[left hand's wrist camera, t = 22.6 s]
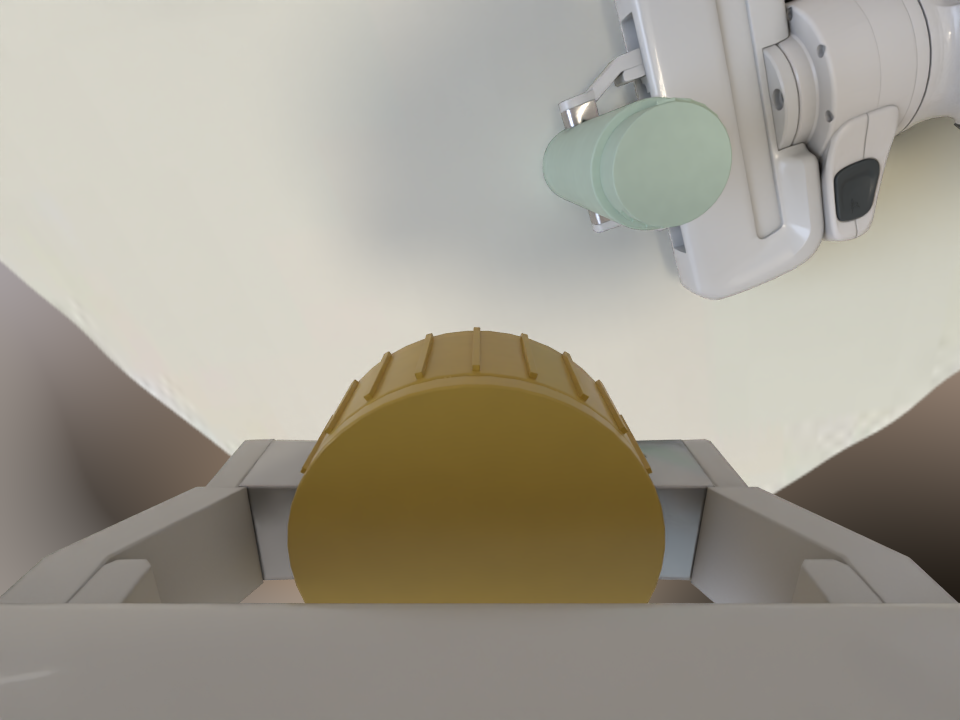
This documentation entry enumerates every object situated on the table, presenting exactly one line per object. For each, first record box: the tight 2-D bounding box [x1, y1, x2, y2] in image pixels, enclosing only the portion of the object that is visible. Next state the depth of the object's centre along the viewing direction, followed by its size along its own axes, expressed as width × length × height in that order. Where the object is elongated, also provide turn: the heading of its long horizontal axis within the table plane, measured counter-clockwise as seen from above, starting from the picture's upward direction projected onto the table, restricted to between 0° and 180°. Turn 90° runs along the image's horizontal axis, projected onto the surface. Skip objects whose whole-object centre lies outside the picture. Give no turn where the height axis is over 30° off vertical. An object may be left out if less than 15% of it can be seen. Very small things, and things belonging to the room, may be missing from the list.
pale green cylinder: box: [543, 97, 732, 230], centre depth 27 cm, size 5×5×19 cm
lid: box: [287, 327, 665, 603], centre depth 9 cm, size 6×6×2 cm
